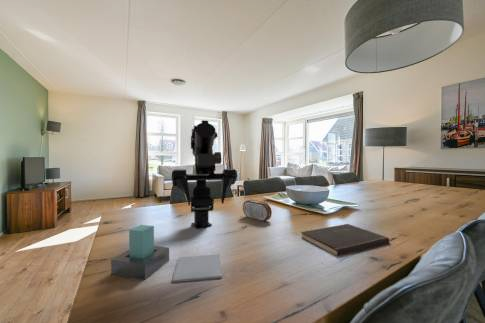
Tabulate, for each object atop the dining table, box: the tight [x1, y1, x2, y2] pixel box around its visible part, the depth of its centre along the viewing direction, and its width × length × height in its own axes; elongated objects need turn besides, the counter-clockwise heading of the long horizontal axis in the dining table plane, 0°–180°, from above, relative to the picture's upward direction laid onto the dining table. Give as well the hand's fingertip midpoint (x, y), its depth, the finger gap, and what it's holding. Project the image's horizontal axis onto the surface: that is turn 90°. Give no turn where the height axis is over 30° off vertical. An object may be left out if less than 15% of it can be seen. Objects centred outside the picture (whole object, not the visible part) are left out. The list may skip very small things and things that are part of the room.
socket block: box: [110, 245, 170, 281], centre depth 54 cm, size 9×9×4 cm
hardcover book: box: [300, 223, 391, 257], centre depth 72 cm, size 16×23×2 cm
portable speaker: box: [242, 198, 273, 222], centre depth 95 cm, size 15×3×8 cm, turn 47°
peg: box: [128, 224, 155, 259], centre depth 54 cm, size 4×4×10 cm
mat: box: [172, 253, 223, 283], centre depth 54 cm, size 11×11×1 cm
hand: (206, 204), depth 59 cm, fingers open, 9 cm apart
